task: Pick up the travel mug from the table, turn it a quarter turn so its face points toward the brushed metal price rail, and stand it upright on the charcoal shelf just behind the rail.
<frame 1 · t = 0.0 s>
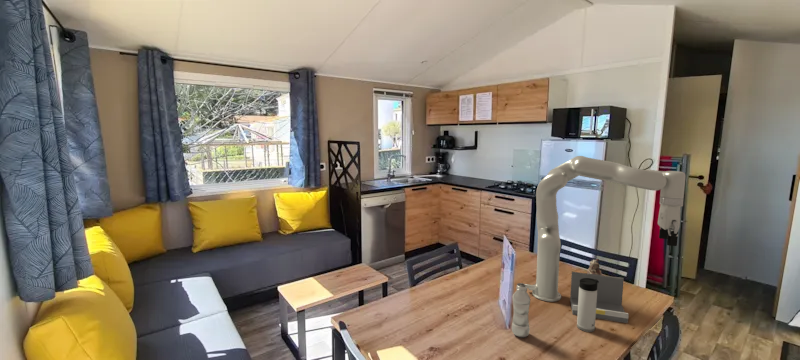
hand: (667, 241, 143), 31 cm above the table, tool pointing down, fingers open, 9 cm apart
shelf: (597, 311, 149), on the table
travel mug: (586, 328, 137), on the table
figurine: (593, 282, 178), on the table
plastic bottle: (520, 335, 133), on the table
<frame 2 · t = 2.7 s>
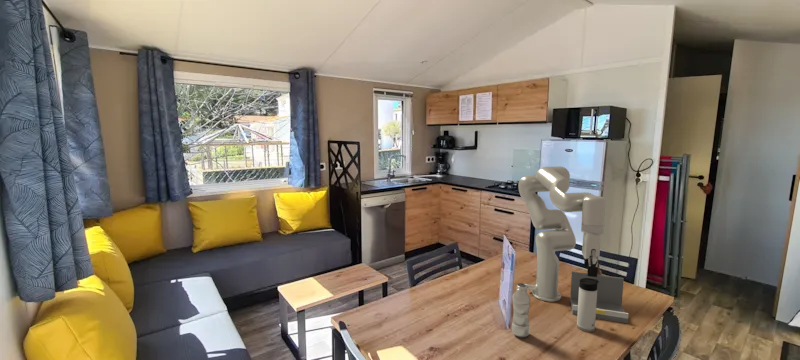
hand: (590, 271, 133), 23 cm above the table, tool pointing down, fingers open, 9 cm apart
nothing on the table moved.
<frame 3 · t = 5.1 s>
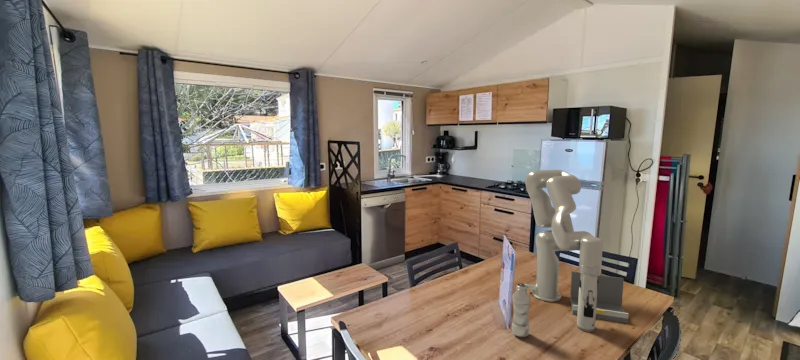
hand: (587, 312, 136), 7 cm above the table, tool pointing down, fingers closed on travel mug, 6 cm apart
travel mug: (586, 328, 137), on the table, touching gripper
everything else where it was.
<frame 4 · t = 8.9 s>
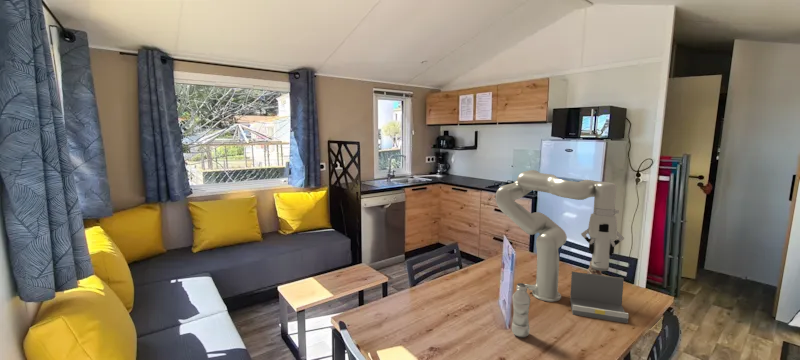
hand: (600, 253, 146), 26 cm above the table, tool pointing down, fingers closed on travel mug, 6 cm apart
travel mug: (599, 268, 146), point 19 cm above the table, touching gripper
everything else where it was.
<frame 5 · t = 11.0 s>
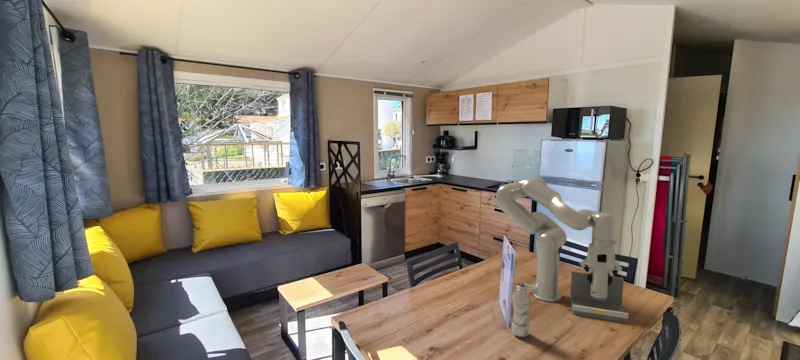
hand: (599, 282, 147), 13 cm above the table, tool pointing down, fingers closed on travel mug, 6 cm apart
travel mug: (598, 298, 148), point 6 cm above the table, touching gripper
everything else where it was.
when the fingers open (9 cm above the table, at t = 12.8 s): travel mug stays where it is, resting on shelf.
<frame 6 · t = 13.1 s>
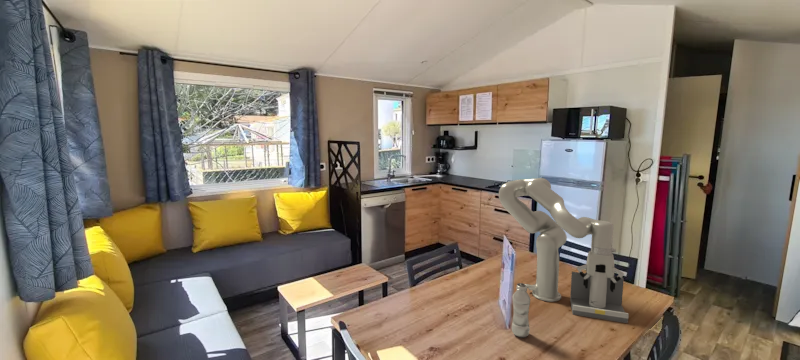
hand: (598, 288, 148), 10 cm above the table, tool pointing down, fingers open, 9 cm apart
travel mug: (597, 307, 149), point 2 cm above the table, touching shelf
everything else where it was.
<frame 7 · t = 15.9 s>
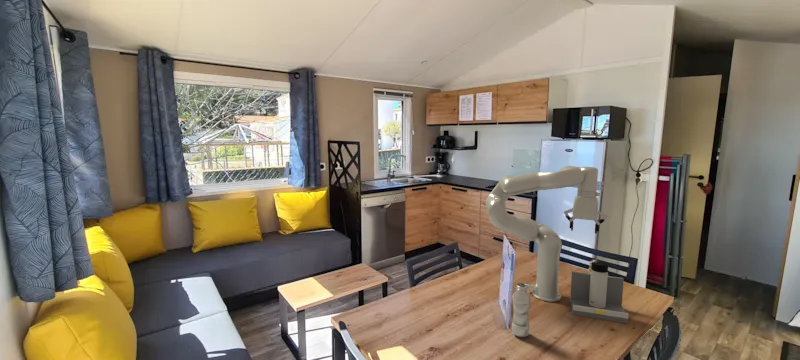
hand: (583, 231, 157), 32 cm above the table, tool pointing down, fingers open, 9 cm apart
nothing on the table moved.
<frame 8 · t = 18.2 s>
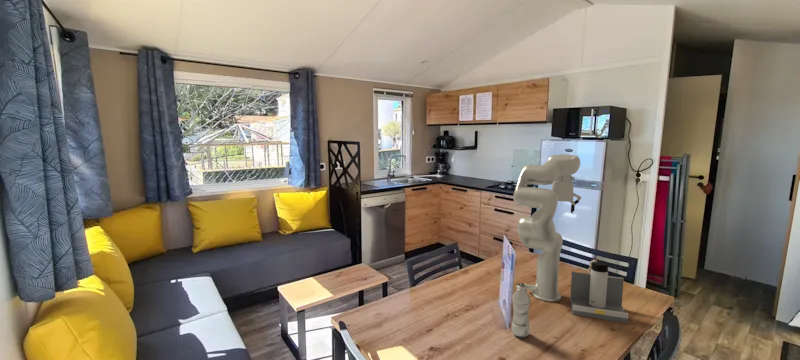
hand: (561, 212, 177), 36 cm above the table, tool pointing down, fingers open, 9 cm apart
nothing on the table moved.
at the end: travel mug inside the target area on the shelf (0.1 cm from its centre), point 1.8 cm above the shelf's base; travel mug tilted 0°; the gripper is holding nothing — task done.
